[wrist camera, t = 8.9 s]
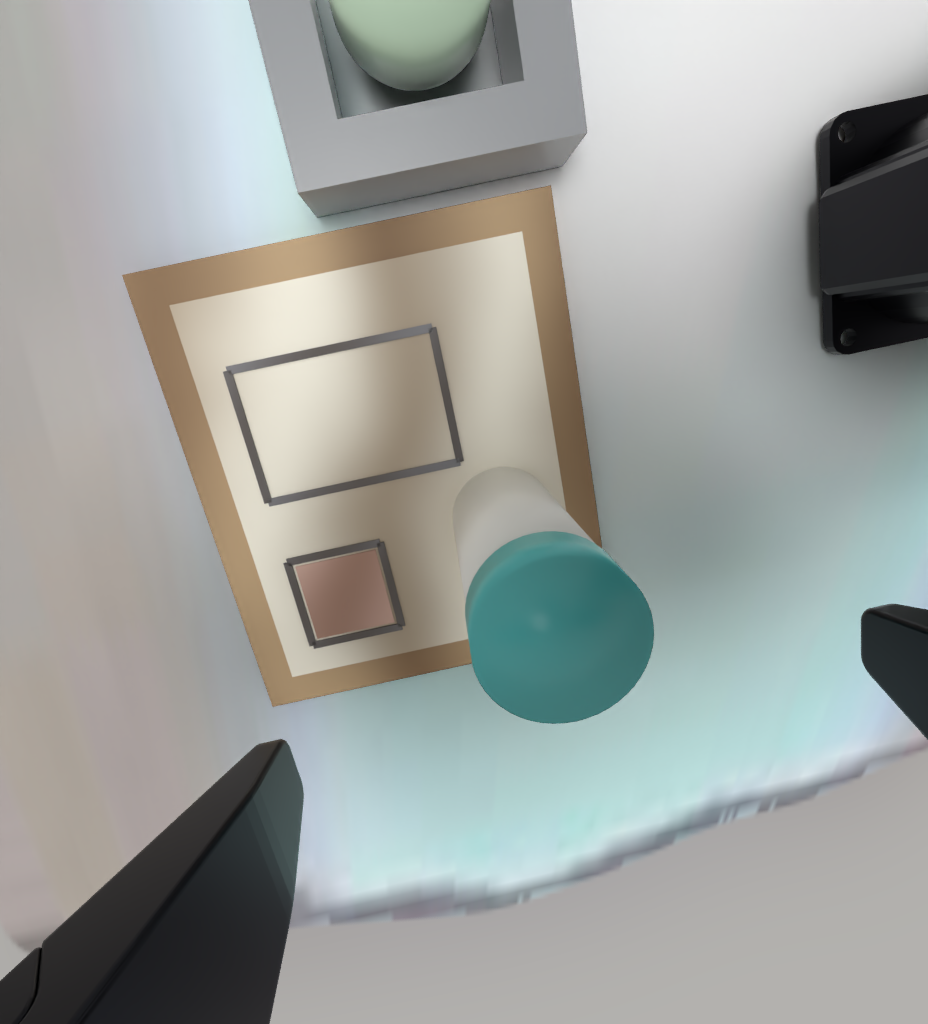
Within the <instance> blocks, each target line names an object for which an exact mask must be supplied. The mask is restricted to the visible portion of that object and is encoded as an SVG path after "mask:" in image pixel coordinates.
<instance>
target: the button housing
mask: <svg viewBox="0 0 928 1024" xmlns="http://www.w3.org/2000/svg"><path fill="white" fill-rule="evenodd" d="M248 1H249V5H250V9H251V12H252V16H253V20H254V24H255V28H256V32H257V36H258V40H259V44H260V48H261V51H262V55H263V59H264V63H265V67H266V71H267V75H268V79H269V83H270V87H271V90H272V94H273V98H274V102H275V106H276V110H277V114H278V118H279V122H280V126H281V129H282V133H283V137H284V141H285V145H286V149H287V153H288V157H289V161H290V165H291V168H292V172H293V176H294V180H295V184H296V188H297V192H298V194H299V195H300V196H301V198H302V199H303V200H304V201H305V203H306V204H307V205H308V206H309V208H310V209H311V210H312V212H313V213H314V214H315V215H316V217H321V216H326V215H331V214H336V213H341V212H345V211H350V210H355V209H360V208H365V207H369V206H374V205H379V204H384V203H388V202H393V201H398V200H403V199H408V198H412V197H417V196H422V195H427V194H432V193H436V192H441V191H446V190H451V189H455V188H460V187H465V186H470V185H475V184H479V183H484V182H489V181H494V180H499V179H503V178H508V177H513V176H518V175H522V174H527V173H532V172H537V171H542V170H546V169H551V168H556V167H561V166H563V165H564V163H565V162H566V161H567V159H568V158H569V157H570V155H571V154H572V153H573V151H574V150H575V148H576V147H577V146H578V144H579V143H580V142H581V140H582V139H583V138H584V136H585V135H586V134H587V126H586V118H585V110H584V102H583V94H582V85H581V77H580V69H579V61H578V53H577V44H576V36H575V28H574V20H573V12H572V3H571V0H491V2H490V6H491V12H492V18H493V25H494V31H495V38H496V44H497V51H498V57H499V63H500V70H501V76H502V83H503V85H500V86H495V87H490V88H486V89H481V90H476V91H471V92H466V93H461V94H457V95H452V96H447V97H442V98H437V99H433V100H428V101H423V102H418V103H413V104H408V105H404V106H399V107H394V108H389V109H384V110H379V111H375V112H370V113H365V114H360V115H355V116H351V117H346V118H342V114H341V110H340V106H339V101H338V97H337V93H336V88H335V84H334V79H333V75H332V71H331V66H330V62H329V58H328V53H327V49H326V44H325V40H324V36H323V31H322V27H321V23H320V18H319V14H318V9H317V5H316V1H315V0H248Z"/></svg>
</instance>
